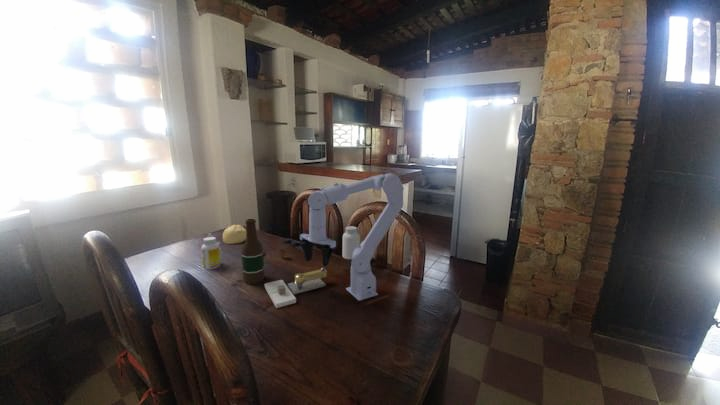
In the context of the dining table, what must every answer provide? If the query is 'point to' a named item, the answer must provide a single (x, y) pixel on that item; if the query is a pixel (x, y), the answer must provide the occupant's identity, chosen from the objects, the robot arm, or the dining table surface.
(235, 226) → the steamed bun
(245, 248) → the beer bottle
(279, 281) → the door board
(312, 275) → the latch arm
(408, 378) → the dining table surface
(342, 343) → the dining table surface
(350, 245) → the pill bottle
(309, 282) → the plate
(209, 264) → the supplement bottle
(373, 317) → the dining table surface
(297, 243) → the dark slate chunk
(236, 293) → the dining table surface
